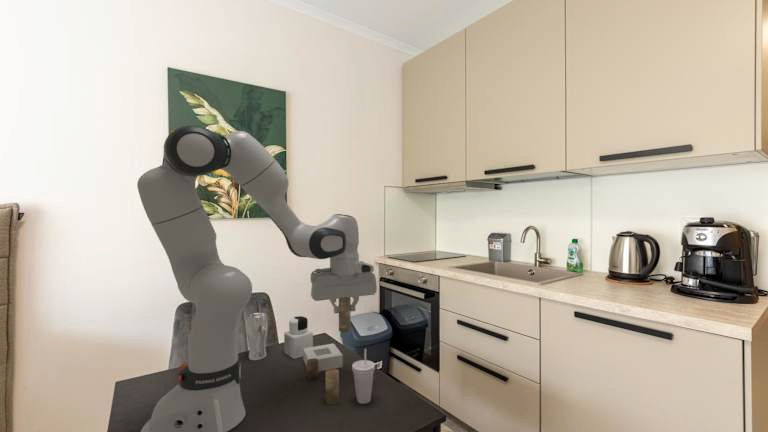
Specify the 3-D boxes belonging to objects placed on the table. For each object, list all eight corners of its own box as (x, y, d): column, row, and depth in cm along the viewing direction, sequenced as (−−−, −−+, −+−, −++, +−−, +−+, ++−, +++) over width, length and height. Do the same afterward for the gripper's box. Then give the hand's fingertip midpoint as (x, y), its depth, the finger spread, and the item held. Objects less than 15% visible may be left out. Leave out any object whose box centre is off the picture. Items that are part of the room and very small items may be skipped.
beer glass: (255, 362, 115) (254, 319, 115) (243, 358, 119) (242, 316, 119) (271, 355, 121) (271, 314, 121) (259, 351, 125) (259, 311, 125)
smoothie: (372, 407, 88) (371, 354, 88) (349, 405, 89) (348, 353, 89) (377, 394, 94) (377, 345, 94) (355, 392, 95) (355, 343, 95)
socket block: (309, 373, 107) (309, 361, 107) (303, 359, 117) (303, 348, 117) (342, 366, 112) (342, 354, 112) (333, 354, 122) (333, 343, 122)
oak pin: (327, 406, 89) (327, 376, 89) (324, 399, 92) (324, 370, 92) (340, 403, 90) (340, 373, 90) (337, 396, 94) (336, 367, 94)
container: (302, 347, 128) (302, 313, 128) (313, 353, 123) (313, 318, 123) (284, 353, 123) (283, 317, 123) (294, 359, 117) (293, 322, 117)
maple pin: (340, 332, 101) (340, 292, 100) (337, 328, 104) (337, 290, 104) (352, 331, 102) (351, 291, 102) (348, 327, 105) (348, 289, 105)
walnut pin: (308, 380, 103) (308, 364, 103) (305, 375, 106) (305, 359, 106) (319, 378, 104) (319, 362, 104) (317, 373, 107) (317, 357, 107)
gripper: (312, 270, 96) (313, 319, 96) (378, 266, 104) (378, 310, 104) (308, 267, 102) (308, 313, 102) (371, 263, 110) (371, 305, 110)
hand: (344, 311), depth 103 cm, fingers closed on maple pin, 4 cm apart
